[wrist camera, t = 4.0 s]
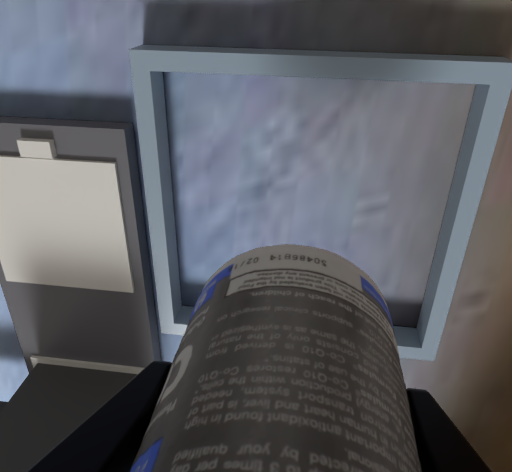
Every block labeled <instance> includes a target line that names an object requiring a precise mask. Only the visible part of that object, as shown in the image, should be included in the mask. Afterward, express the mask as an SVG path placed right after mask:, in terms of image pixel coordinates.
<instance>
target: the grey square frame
mask: <svg viewBox="0 0 512 472" xmlns="http://www.w3.org/2000/svg"><path fill="white" fill-rule="evenodd" d="M129 57H130V65H131V74H132V83H133V91H134V100H135V109H136V118H137V126H138V135H139V144H140V152H141V161H142V170H143V179H144V187H145V196H146V205H147V213H148V222H149V231H150V240H151V248H152V257H153V266H154V275H155V283H156V292H157V301H158V309H159V318H160V327H161V333H165V334H175V335H184V334H185V331H186V328H187V325H188V322H189V320H190V316H191V314H192V312H193V309H194V307H191V306H182V302H181V290H180V278H179V266H178V254H177V242H176V229H175V217H174V205H173V193H172V181H171V169H170V157H169V144H168V132H167V120H166V108H165V96H164V84H163V72H184V73H209V74H234V75H259V76H285V77H310V78H335V79H360V80H385V81H410V82H435V83H461V84H476V86H475V91H474V95H473V99H472V103H471V107H470V111H469V115H468V119H467V123H466V127H465V131H464V135H463V140H462V144H461V148H460V152H459V156H458V160H457V164H456V168H455V172H454V176H453V180H452V184H451V189H450V193H449V197H448V201H447V205H446V209H445V213H444V217H443V221H442V225H441V229H440V233H439V238H438V242H437V246H436V250H435V254H434V258H433V262H432V266H431V270H430V274H429V278H428V282H427V286H426V291H425V295H424V299H423V303H422V307H421V311H420V315H419V319H418V323H417V327H416V328H410V327H400V326H393V328H394V334H395V340H396V343H397V348H398V352H399V358H408V359H418V360H428V361H434V360H435V357H436V353H437V350H438V346H439V343H440V339H441V336H442V332H443V329H444V325H445V322H446V318H447V315H448V311H449V307H450V304H451V300H452V297H453V293H454V290H455V286H456V283H457V279H458V276H459V272H460V269H461V265H462V262H463V258H464V255H465V251H466V248H467V244H468V240H469V237H470V233H471V230H472V226H473V223H474V219H475V216H476V212H477V209H478V205H479V202H480V198H481V195H482V191H483V188H484V184H485V180H486V177H487V173H488V170H489V166H490V163H491V159H492V156H493V152H494V149H495V145H496V142H497V138H498V135H499V131H500V128H501V124H502V120H503V117H504V113H505V110H506V106H507V103H508V99H509V96H510V92H511V89H512V60H510V59H508V58H506V57H494V56H465V55H435V54H405V53H375V52H345V51H315V50H285V49H255V48H225V47H195V46H165V45H140V46H137V47H135V48H132V49H129Z"/></svg>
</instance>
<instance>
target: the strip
mask: <svg viewBox="0 0 512 472" xmlns="http://www.w3.org/2000/svg"><path fill="white" fill-rule="evenodd" d="M0 284H1V287H2V290H3V293H4V296H5V299H6V302H7V305H8V309H9V312H10V315H11V318H12V321H13V324H14V327H15V330H16V334H17V337H18V340H19V343H20V346H21V349H22V352H23V355H24V359H25V362H26V365H27V368H28V371H29V374H30V372H31V371H32V370H33V368H34V367H35V366H36V364H37V363H43V364H52V365H61V366H70V367H78V368H87V369H96V370H105V371H114V372H123V373H131V374H138V373H140V372H141V371H142V370H143V369H144V368H145V367H146V366H148V365H149V364H150V363H151V362H153V361H161V356H160V347H159V339H158V331H157V322H156V314H155V305H154V297H153V289H152V280H151V272H150V264H149V255H148V247H147V239H146V230H145V222H144V213H143V205H142V197H141V188H140V180H139V172H138V163H137V155H136V147H135V138H134V130H133V123H121V122H102V121H83V120H64V119H45V118H26V117H7V116H0Z"/></svg>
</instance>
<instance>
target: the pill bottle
mask: <svg viewBox="0 0 512 472" xmlns="http://www.w3.org/2000/svg"><path fill="white" fill-rule="evenodd" d="M130 472H422V469H421V464H420V460H419V456H418V451H417V446H416V441H415V436H414V427H413V424H412V420H411V415H410V407H409V402H408V398H407V392H406V386H405V383H404V379H403V373H402V369H401V366H400V361H399V352H398V348H397V343H396V340H395V334H394V328H393V324H392V320H391V316H390V313H389V309H388V306H387V304H386V301H385V299H384V297H383V295H382V294H381V292H380V290H379V289H378V287H377V286H376V285H375V283H374V282H373V280H372V279H371V278H370V277H369V276H368V275H367V274H366V273H365V272H363V271H362V270H361V269H360V268H358V267H357V266H356V265H354V264H353V263H351V262H350V261H348V260H346V259H344V258H343V257H341V256H339V255H337V254H335V253H332V252H330V251H327V250H323V249H319V248H315V247H309V246H302V245H289V244H284V245H275V246H266V247H260V248H255V249H253V250H250V251H248V252H245V253H243V254H240V255H238V256H236V257H234V258H233V259H231V260H229V261H228V262H226V263H225V264H224V265H223V266H222V267H221V268H219V269H218V270H217V271H216V272H215V273H214V274H213V275H212V276H211V278H210V279H209V280H208V282H207V283H206V285H205V286H204V288H203V290H202V292H201V294H200V296H199V298H198V299H197V302H196V304H195V307H194V309H193V312H192V314H191V316H190V320H189V322H188V325H187V328H186V331H185V334H184V336H183V338H182V340H181V343H180V346H179V348H178V351H177V353H176V355H175V357H174V360H173V363H172V365H171V368H170V371H169V374H168V377H167V379H166V382H165V384H164V387H163V390H162V392H161V395H160V397H159V399H158V402H157V404H156V407H155V409H154V412H153V415H152V418H151V421H150V424H149V426H148V428H147V431H146V433H145V435H144V437H143V440H142V443H141V446H140V448H139V451H138V453H137V455H136V458H135V460H134V462H133V465H132V467H131V470H130Z"/></svg>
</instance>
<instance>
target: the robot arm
mask: <svg viewBox="0 0 512 472" xmlns="http://www.w3.org/2000/svg"><path fill="white" fill-rule="evenodd" d="M171 365H172V363H171V362H166V361H153V362H151V363H150V364H149V365H148V366H146V367H145V368H144V369H143V370H142V371H141V372H140V373H138V374H137V375H136V376H135V377H134V378H133V379H132V380H130V381H129V382H128V383H127V384H126V385H125V386H124V387H123V388H121V389H120V390H119V391H118V392H117V393H116V394H115V395H113V396H112V397H111V398H110V399H109V400H108V401H107V402H105V403H104V404H103V405H102V406H101V407H100V408H99V409H97V410H96V411H95V412H94V413H93V414H92V415H91V416H89V417H88V418H87V419H86V420H85V421H84V422H83V423H82V424H80V425H79V426H78V427H77V428H76V429H75V430H74V431H72V432H71V433H70V434H69V435H68V436H67V437H66V438H64V439H63V440H62V441H61V442H60V443H59V444H58V445H56V446H55V447H54V448H53V449H52V450H51V451H50V452H48V453H47V454H46V455H45V456H44V457H43V458H42V459H41V460H39V461H38V462H37V463H36V464H35V465H34V466H33V467H31V468H30V469H29V470H28V471H27V472H130V470H131V467H132V465H133V462H134V460H135V458H136V455H137V453H138V451H139V448H140V446H141V443H142V440H143V437H144V435H145V433H146V431H147V428H148V426H149V424H150V421H151V418H152V415H153V412H154V409H155V407H156V404H157V402H158V399H159V397H160V395H161V392H162V390H163V387H164V384H165V382H166V379H167V377H168V374H169V371H170V368H171ZM406 392H407V398H408V402H409V407H410V415H411V420H412V424H413V427H414V436H415V441H416V446H417V451H418V456H419V460H420V464H421V469H422V472H491V470H490V469H489V468H488V467H487V465H486V464H485V463H484V461H483V460H482V459H481V458H480V456H479V455H478V454H477V453H476V451H475V450H474V449H473V448H472V446H471V445H470V444H469V442H468V441H467V440H466V439H465V437H464V436H463V435H462V434H461V432H460V431H459V430H458V429H457V427H456V426H455V425H454V423H453V422H452V421H451V420H450V418H449V417H448V416H447V415H446V413H445V412H444V411H443V410H442V408H441V407H440V406H439V404H438V403H437V402H436V401H435V399H434V398H433V397H432V396H431V394H430V393H429V392H428V391H426V390H421V389H412V388H408V389H406Z"/></svg>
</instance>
